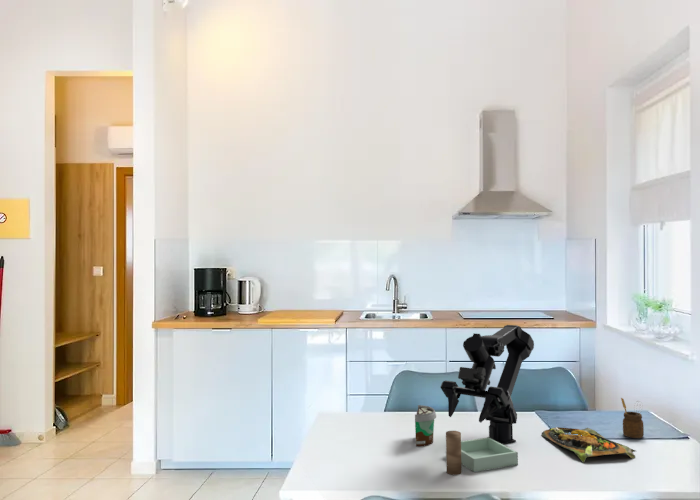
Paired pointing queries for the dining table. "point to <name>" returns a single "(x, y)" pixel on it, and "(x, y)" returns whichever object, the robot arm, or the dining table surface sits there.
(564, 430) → the prepared meal
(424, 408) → the food container
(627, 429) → the utensil holder
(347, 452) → the dining table surface
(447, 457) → the walnut handle
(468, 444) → the box
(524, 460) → the dining table surface
